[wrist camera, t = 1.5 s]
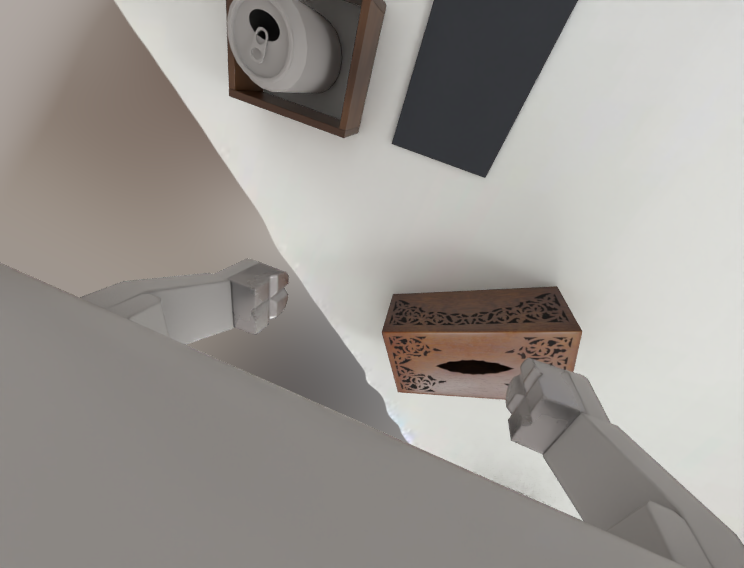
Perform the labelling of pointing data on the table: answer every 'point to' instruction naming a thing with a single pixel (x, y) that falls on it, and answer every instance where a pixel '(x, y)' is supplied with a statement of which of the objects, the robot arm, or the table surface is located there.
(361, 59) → the crate
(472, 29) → the mat
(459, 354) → the tissue box cover
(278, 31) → the can
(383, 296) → the table surface
